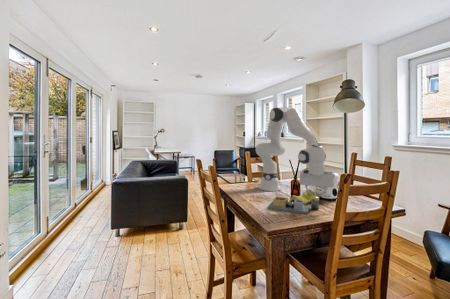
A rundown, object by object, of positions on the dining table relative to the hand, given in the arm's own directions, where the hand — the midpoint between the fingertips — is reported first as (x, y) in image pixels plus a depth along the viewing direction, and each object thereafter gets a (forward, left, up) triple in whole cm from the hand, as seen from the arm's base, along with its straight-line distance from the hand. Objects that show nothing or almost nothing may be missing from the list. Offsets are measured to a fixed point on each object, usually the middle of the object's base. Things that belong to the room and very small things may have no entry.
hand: (316, 192), depth 151 cm
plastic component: (-13, -9, -11) cm, 19 cm away
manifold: (+6, -15, -11) cm, 19 cm away
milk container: (-31, +5, -11) cm, 34 cm away
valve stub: (0, 0, -11) cm, 11 cm away
